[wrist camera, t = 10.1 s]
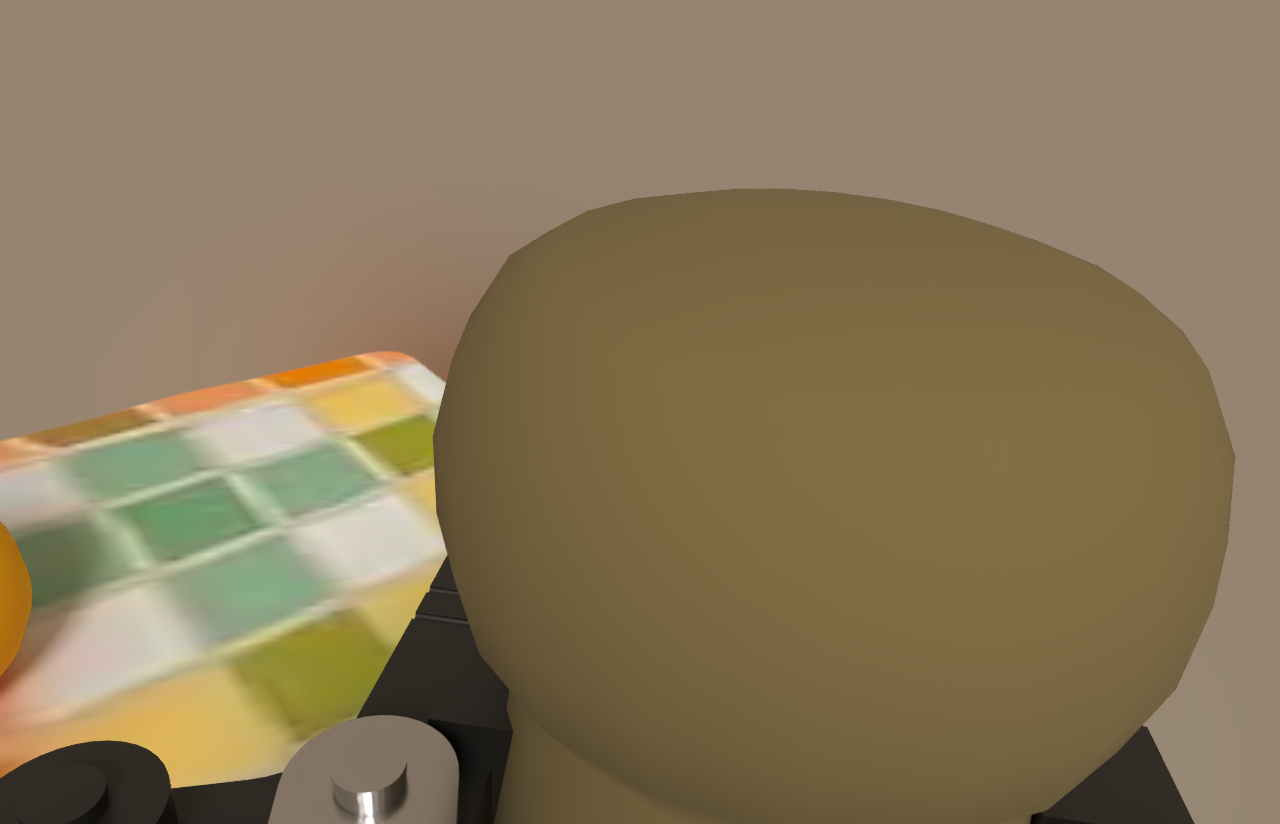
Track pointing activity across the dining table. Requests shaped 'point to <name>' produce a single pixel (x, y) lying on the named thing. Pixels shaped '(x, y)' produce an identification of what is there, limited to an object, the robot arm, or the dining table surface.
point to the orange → (12, 598)
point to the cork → (822, 513)
